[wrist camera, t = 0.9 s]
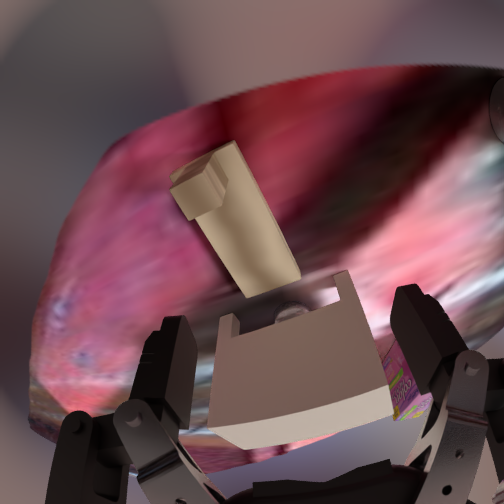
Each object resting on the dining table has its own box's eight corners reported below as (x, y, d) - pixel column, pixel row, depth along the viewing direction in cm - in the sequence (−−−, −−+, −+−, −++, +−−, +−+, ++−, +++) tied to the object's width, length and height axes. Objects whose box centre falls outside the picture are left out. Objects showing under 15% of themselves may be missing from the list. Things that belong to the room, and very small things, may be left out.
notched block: (347, 269, 35) (388, 384, 21) (361, 310, 39) (394, 413, 25) (215, 318, 40) (200, 428, 26) (242, 350, 43) (238, 450, 30)
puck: (303, 295, 37) (305, 306, 36) (315, 318, 40) (317, 329, 38) (268, 308, 39) (268, 318, 37) (282, 330, 41) (283, 340, 39)
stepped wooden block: (234, 139, 27) (226, 160, 20) (299, 268, 35) (308, 316, 28) (174, 170, 29) (149, 201, 22) (247, 287, 37) (245, 336, 30)
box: (399, 329, 41) (423, 389, 31) (426, 327, 41) (452, 383, 32) (377, 367, 47) (393, 422, 37) (403, 364, 47) (420, 416, 37)
